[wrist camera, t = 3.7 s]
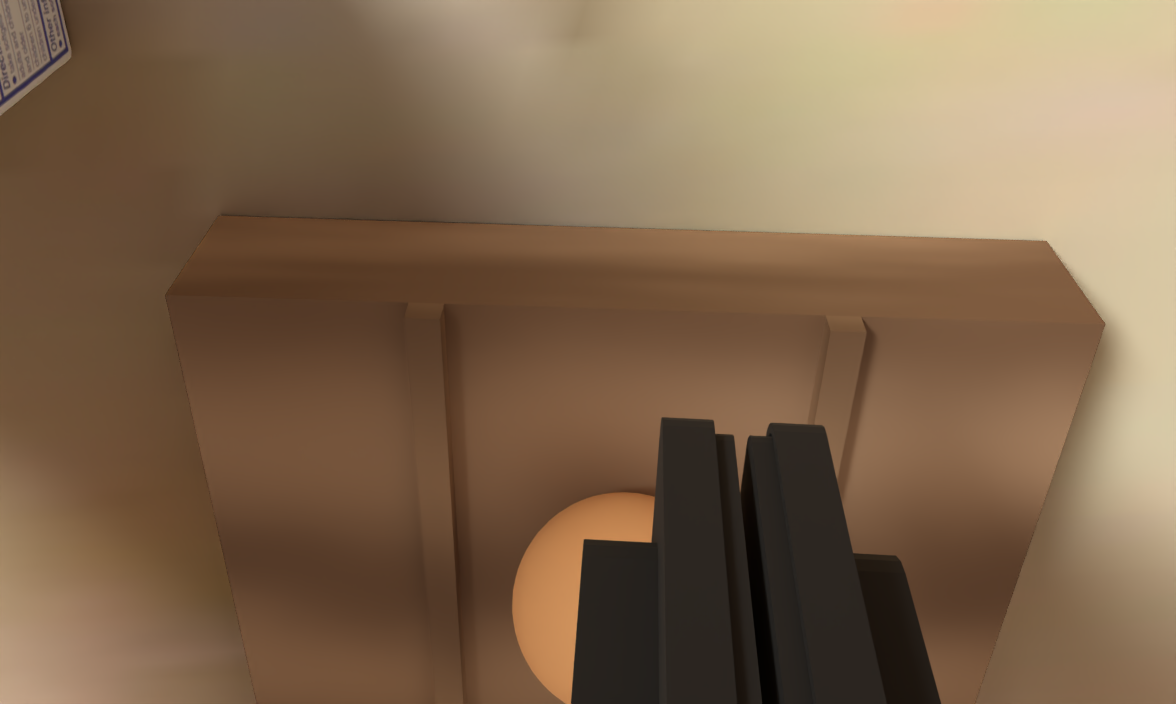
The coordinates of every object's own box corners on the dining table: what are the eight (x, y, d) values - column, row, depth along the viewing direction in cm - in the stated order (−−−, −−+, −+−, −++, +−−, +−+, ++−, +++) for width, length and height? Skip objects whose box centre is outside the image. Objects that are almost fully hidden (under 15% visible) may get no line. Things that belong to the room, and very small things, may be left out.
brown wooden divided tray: (218, 215, 21) (132, 343, 17) (1046, 241, 21) (1141, 374, 17) (330, 823, 32) (293, 981, 28) (870, 840, 32) (904, 1001, 28)
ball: (519, 444, 20) (500, 605, 17) (734, 451, 20) (759, 614, 17) (521, 595, 22) (504, 765, 19) (715, 602, 22) (733, 772, 19)
